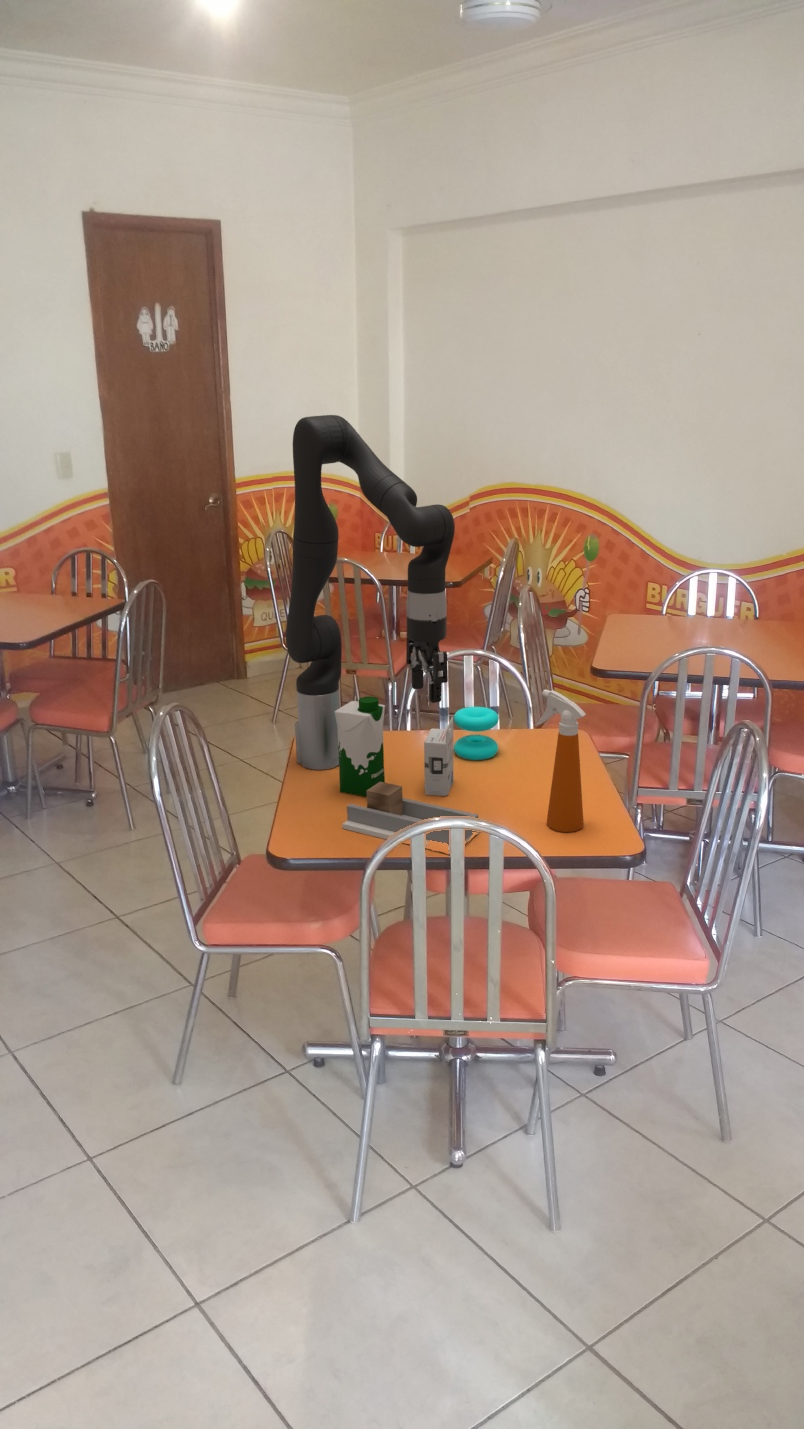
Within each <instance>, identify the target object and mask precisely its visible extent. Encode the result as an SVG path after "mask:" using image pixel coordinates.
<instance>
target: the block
mask: <svg viewBox="0 0 804 1429" xmlns="http://www.w3.org/2000/svg"><path fill="white" fill-rule="evenodd" d="M403 796H404V795H403V786H402V785H397V784H394V783H388V782H386V781H385V782H379V783H377V784H376V785H374V786H373V787H371V788H370V789H368V790H367V797H366V807H367V808H371V809H375V810H379V811H383V812H388V813H392V814H396V815H401V816H402V815H403V798H404V797H403Z"/></svg>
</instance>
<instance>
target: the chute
mask: <svg viewBox="0 0 804 1429" xmlns="http://www.w3.org/2000/svg"><path fill="white" fill-rule="evenodd" d="M346 815H347V816H346V818H347V820H346V821H344V822H342V823H341V824H342V829H344V830H347V831H350V832H355V833H360V834H363V835H367V836H371V837H375V838H378V839H379V838H380V839H384V840H387V838H388V837H389V836H391V835H393V834H394V833H395V832H397V831H399V830H400V829H403V828H405V827H407V826H409V825H412V824H414V823H417V822H419V821H422V820H424V819H428V818H433V817H440V816H470V817H475V818H478V819H479V814H478V813H477V814H476V813H471V812H468V811H465V810H464V811H463V810H459V809H454V808H449V807H445V806H441V805H436V804H431V803H427V802H423V801H418V800H413V799H410V798H405V797H403V815H402V816H401V815H396V814H392V813H388V812H383V811H379V810H375V809H371V808H367V806H366V807H365V806H362V805H357V804H352V803H349V804H348V805H346ZM472 832H476V833H479V832H477V831H472V830H465V841H466V843H467V841H468V840H469V839H470V838H471V836H472V835H473V833H472ZM479 834H480V833H479ZM430 840H432V841H437V842H442V843H444V842H445V843H447V844H448V851H449V830H441V831H433V832H430V833H428V834H426V846H427V841H430ZM467 844H468V843H467Z"/></svg>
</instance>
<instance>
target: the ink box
mask: <svg viewBox="0 0 804 1429" xmlns="http://www.w3.org/2000/svg"><path fill="white" fill-rule="evenodd" d="M423 752H424V753H423V755H424V762H423V764H424V769H423V770H424V795H425V796H436V797H438V796H440V797H443V796H444V797H448V796H449V793H450V790H451V788H452V784H453V782H454V716H451V718H450V720H449V723H448V725H447V727H446V729H445V728H444V729H443V728H430V730H429V732H428V734H427V736H426V738H425V740H424V742H423ZM447 795H448V796H447Z"/></svg>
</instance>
